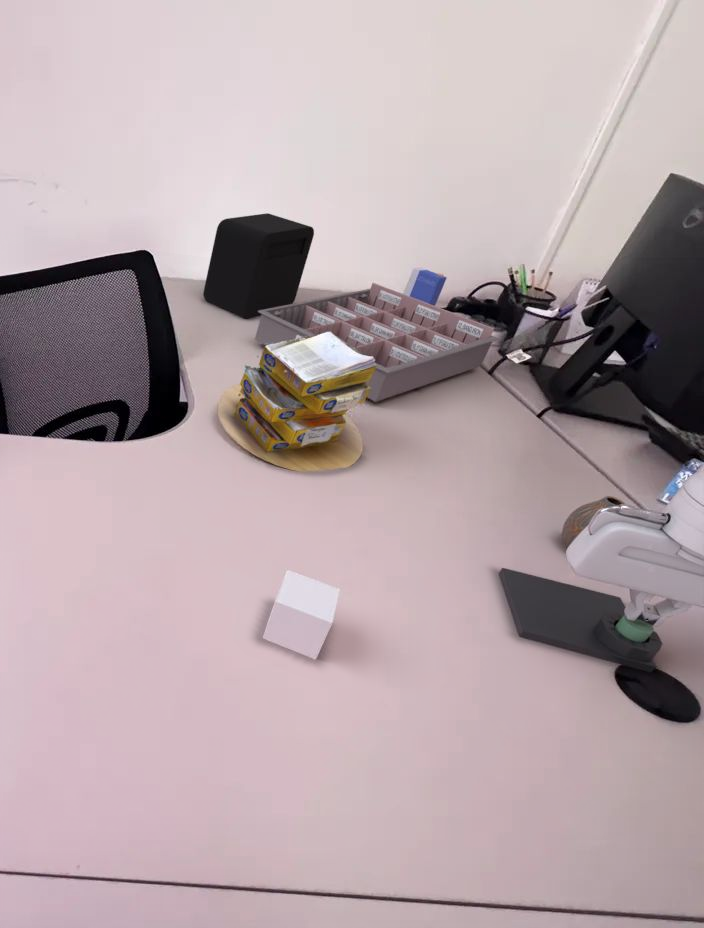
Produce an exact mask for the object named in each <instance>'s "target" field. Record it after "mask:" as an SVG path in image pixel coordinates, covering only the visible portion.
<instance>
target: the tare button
mask: <svg viewBox="0 0 704 928" xmlns="http://www.w3.org/2000/svg"><path fill="white" fill-rule="evenodd" d="M615 628H616V630H617V631H618V632H620V633H621V634H622V635H623V636H625V637H627V638H629V639H630V640H632V641H635V642H639V643H643V642H645V641H646V639H647V638H648V637H649V636H650V635H651V634H652V632H653V631H655V629H654V626H652V625H648V624H644V623H640V622H636V621H633V620H629V619H627V617H626V615H624V616H623V617H622V618H621V619H620V621H619V622H618V623H617V624H616V626H615Z"/></svg>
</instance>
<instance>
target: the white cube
mask: <svg viewBox="0 0 704 928" xmlns="http://www.w3.org/2000/svg"><path fill="white" fill-rule="evenodd" d="M340 591H341V589H340V588H338V587H335V586H333V585H330V584H327V583H325V582H323V581H320V580H317V579H313V578H311V577H308V576H305V575H302V574H300V573H297V572H294V571H293V570H289V569H286V571H285V574H284V576H283V579H282V582H281V584H280V587H279V590H278V593H277V595H276V597H275V601H274V603H273V606H272V609H271V611H270V615H269V617H268V621H267V623H266V627H265V630H264V631H263V634H262V635H263V636H262V639H263V640H265V641H268V642H270V643H274V644H275V645H278V646H281V647H282V648H285V649H288V650H291V651H293V652H296V653H298V654H300V655H303V656H305V657H308V658H310V659H313V660H315V661H316V660H317V658H318V656H319V653H320V651H321V649H322V648H323V645H324V643H325V640H326V638H327V636H328V634H329V632H330V629H331V627H332V625H333V622H334V619H335V613H336V609H337V604H338V600H339V595H340Z"/></svg>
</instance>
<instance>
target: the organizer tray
mask: <svg viewBox="0 0 704 928" xmlns="http://www.w3.org/2000/svg"><path fill="white" fill-rule="evenodd" d="M258 312H259V313H261V314H262V315H261V316H260V319H259V322H258V326H257V330H256V334H255V337H254V341H255V342H258V343H259V344H262V345H263V346H264V347H265V346H267V345H270V344H276V343H279V342H282V341H285V340H287V342H288V341H290V340H293V339H295V338H296V339H298V338H297V337H299V338H302V337H304V338H303V339H300V340H305V339H307V338H310V337H312V336H313V335H319V334H322V333H325V332H331V333H332V334H334V335H335V336H337V337H338V338H340V339H342V341H344V342H345V343H347V344H348V345H350V346H351V347H353V348H354V349H356V350H357V351H358V352H360V353H361V354H362V355H365V356H371V357H374V359H375V364H376V369H375V371H374V372H373V374H372V376H371V378H370V380H369V381H366V384H367V385H368V386H370V388H371V389H370V392H369V394H368V396H367V398H366V399H369V400H371V401H372V402H375V403H376V402H380V401H382V400H385V399H388V398H391V397H394V396H397V395H400V394H403V393H406V392H408V391H411V390H415V389H416V390H417V388H420V387H423V386H426V385H427V386H428V385H430V384H432V383H435V382H438V381H441V380H444V379H447V378H451V377H453V376H456V375H459V374H462V373H465V372H468V371H471V370H473V369H474V370H475V369H476V368H479V367H481V366H482V365H483V363H484V361H485V358H486V357H487V354H488V352H489V350H490V348H491V346H492V344H493V342H496V341H498V340H499V338H498V337H497V336H494V335H493V332H494V331H495V328H494V327H491V326H489V325H485V324H483V323H481V322H478V321H476V320H473V319H470V318H467V317H466V316H462V315H460V314H457V313H454V312H452V311H449V310H447V309H444V308H441V307H438V306H436V305H435V306H434V305H431V304H428V303H426V302H423V301H420V300H418V299H415V298H412V297H410V296H407V295H404V294H403V293H401V292H399V291H396V290H394V289H391V288H388V287H386V286H383V285H380V284H378V283H375V282H372V283H371V286H370V288H365V289H361V290H356V291H351V292H345V293H342V294H341V293H340V294H336V295H329V296H325V297H320V298H316V299H315V298H314V299H311V300H305V301H300V302H299V301H298V302H294V303H293V304H289V305H284V306H279V307H274V308H269V309H264V310H259V311H258ZM309 335H311V336H309ZM305 336H307V337H305ZM296 339H295V340H296ZM266 343H268V344H266Z"/></svg>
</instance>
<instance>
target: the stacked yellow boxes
mask: <svg viewBox="0 0 704 928" xmlns="http://www.w3.org/2000/svg"><path fill="white" fill-rule="evenodd" d="M309 336H311V335H309ZM305 337H307V336H305ZM297 338H298V339H296V338H295V339H296V340H295V339H293V340H290V341H288V342H287V340H285V341H282V342H279V343H276V344H270V345H267V346H265V345H264V347H263V349H262V353H261V357H260V360H259V363H258V366H259V367H251V366H250V365H246V364H244V368H245V369H244V373H243V375H242V377H241V380H240V382H239V383H237V384H234V385H232V386H231V387H229V388H227V389H226V390H225V391H224V392H223V393H222V394H221V396H220V397H219V399H218V403H217V406H216V407H217V408H216V409H217V410H216V411H217V416H218V419H219V421H220V423H221V425H222V427H223V429H224V431H226V433H227V434H228V435H229V436H230V438H231V439H232V440H233V441H235V442H236V444H238V445H239V446H241V447H242V448H243V449H244V450H246V451H247V452H249V453H250V454H251V455H254V456H256V457H257V458H259V459H261V460H263V461H265V462H268V463H270V464H272V465H275V466H277V467H279V468H280V467H281V468H284V469H286V470H287V469H288V470H291V471H295V472H299V473H303V472H314V471H323V470H335V469H342V468H343V469H344V468H349V467H351V466H353V465H354V464H355V463H356V462H357V461H358V460H359V459H360V457H361V455H362V453H363V449H364V444H363V438H362V435H361V432H360V430H359V428H358V426H357V425H356V424H355V422H354V421H353V420H352V419H351V418H350V416H348V414H347V412H348V410H349V409H352V408H356V407H357V406H358V405H360V404H364V403H365V401H366V399H368V398H367V396H368V394H369V392H370V389H371V388H370V386H368V385H367V384H366V381H369V380H370V378H371V376H372V374H373V372H374V371H375V369H376V364H375V359H374V357H371V356H365V355H362V354H361V353H360V352H358V351H357V350H356V349H354V348H353V347H351V346H350V345H348V344H347V343H345V342H344V341H342V339H340V338H338V337H337V336H335V335H334V334H332V333H331V332H325V333H322V334H319V335H313V336H312V337H310V338H307V339H305V340H300V339H303V338H304V337H302V338H299V337H297ZM266 344H268V343H266ZM256 358H259V355H256Z"/></svg>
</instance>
